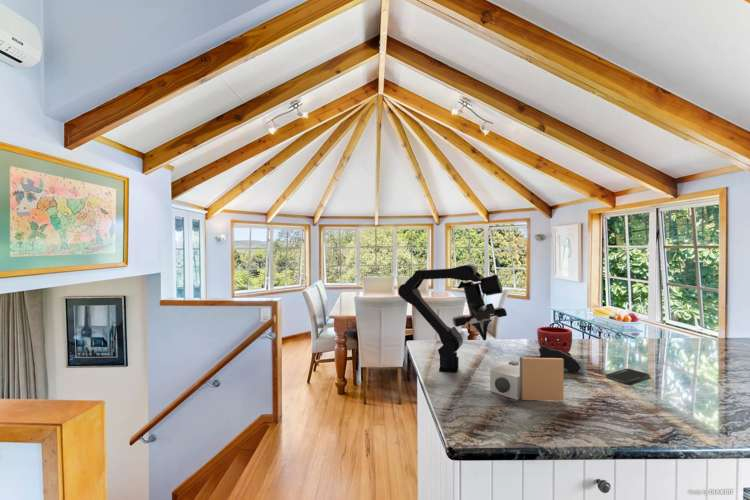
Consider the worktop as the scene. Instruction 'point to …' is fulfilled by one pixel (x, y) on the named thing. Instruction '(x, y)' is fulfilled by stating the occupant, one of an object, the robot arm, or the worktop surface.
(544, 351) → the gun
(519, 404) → the worktop surface
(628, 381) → the phone
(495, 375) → the white box
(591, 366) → the worktop surface
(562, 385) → the tan flat square panel
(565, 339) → the plant pot
